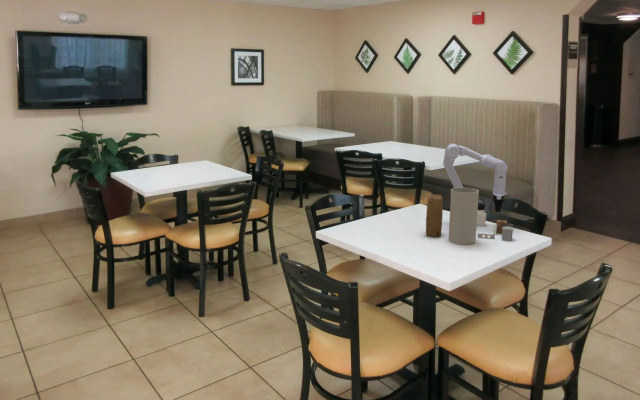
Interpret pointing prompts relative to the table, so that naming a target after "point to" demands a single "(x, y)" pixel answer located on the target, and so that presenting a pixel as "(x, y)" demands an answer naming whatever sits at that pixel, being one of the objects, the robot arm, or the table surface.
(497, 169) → the robot arm
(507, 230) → the slate block
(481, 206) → the medicine bottle
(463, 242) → the cylinder vase
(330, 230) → the table surface
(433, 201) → the block
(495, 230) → the sage mat
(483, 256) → the table surface
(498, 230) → the walnut block
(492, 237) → the tile
